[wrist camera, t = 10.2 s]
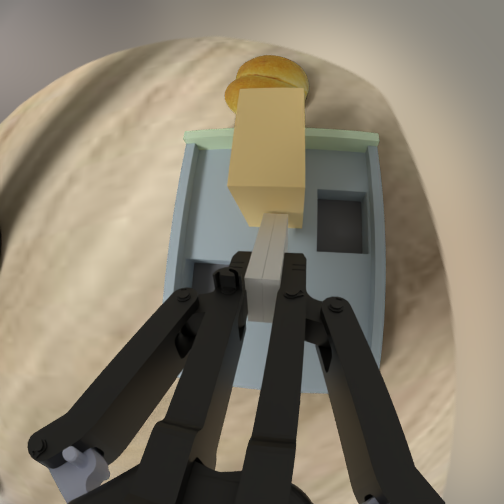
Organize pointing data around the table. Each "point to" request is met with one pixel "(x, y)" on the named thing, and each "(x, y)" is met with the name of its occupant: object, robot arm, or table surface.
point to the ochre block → (269, 154)
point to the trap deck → (299, 240)
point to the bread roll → (266, 77)
